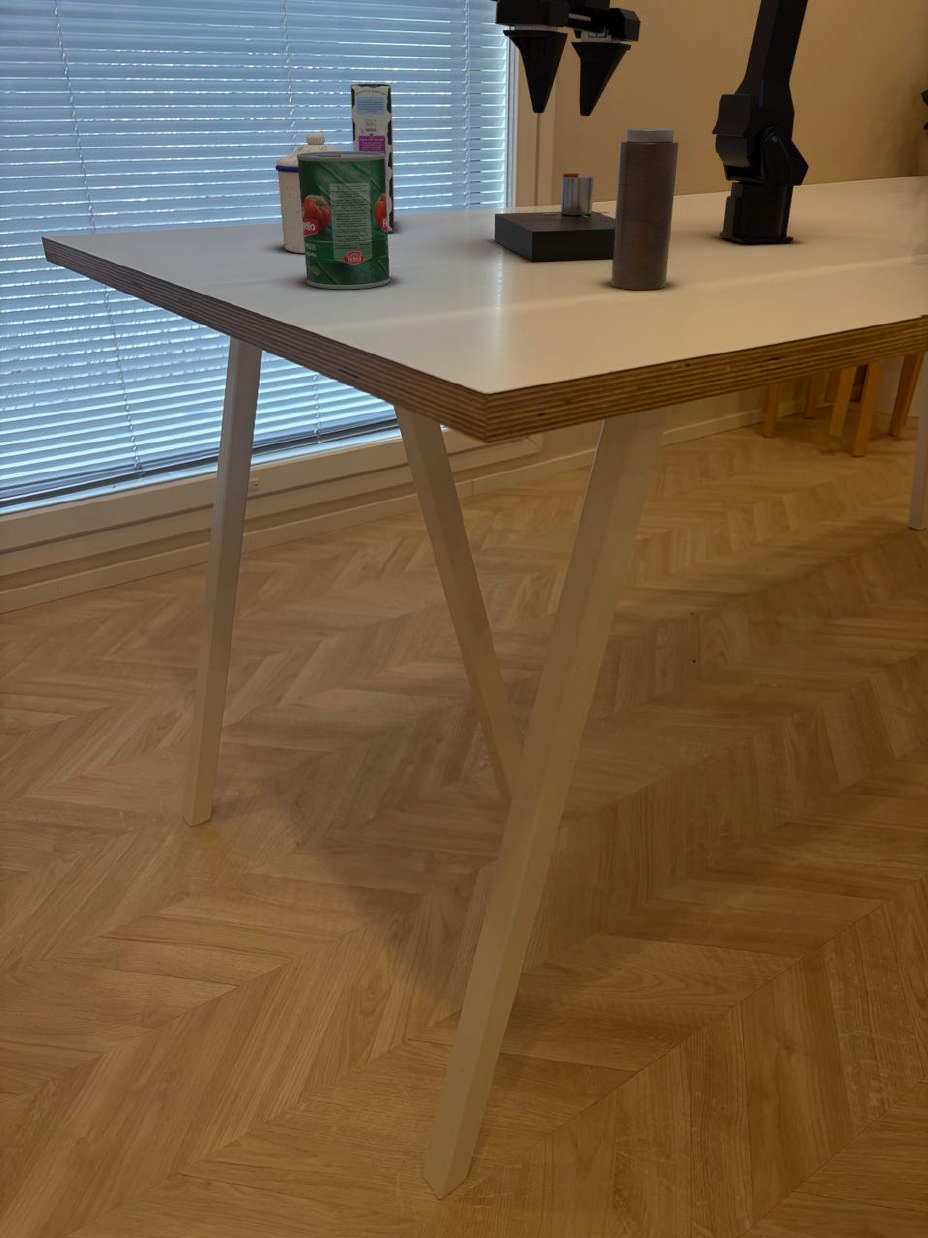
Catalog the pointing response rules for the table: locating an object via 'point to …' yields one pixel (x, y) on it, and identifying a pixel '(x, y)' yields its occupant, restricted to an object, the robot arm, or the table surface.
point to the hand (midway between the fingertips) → (562, 114)
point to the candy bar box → (375, 131)
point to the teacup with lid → (295, 192)
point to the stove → (556, 235)
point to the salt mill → (644, 208)
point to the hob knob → (576, 194)
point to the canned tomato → (344, 219)
